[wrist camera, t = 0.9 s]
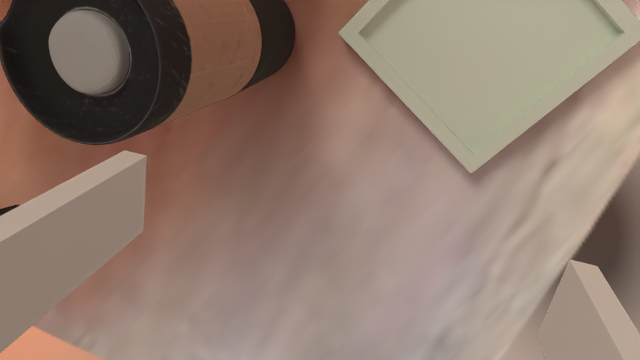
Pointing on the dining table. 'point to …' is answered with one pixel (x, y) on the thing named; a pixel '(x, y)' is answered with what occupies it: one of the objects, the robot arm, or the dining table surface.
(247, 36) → the travel mug
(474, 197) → the dining table surface
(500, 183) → the dining table surface
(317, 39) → the dining table surface
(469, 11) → the tray
